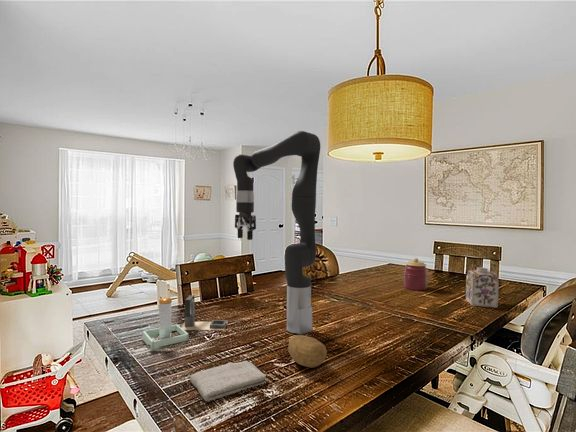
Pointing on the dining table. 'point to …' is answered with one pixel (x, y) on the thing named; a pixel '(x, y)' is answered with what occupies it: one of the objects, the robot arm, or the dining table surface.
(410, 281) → the canister
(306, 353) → the potato
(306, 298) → the robot arm
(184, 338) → the tray
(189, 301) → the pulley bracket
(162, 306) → the pin
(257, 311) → the dining table surface
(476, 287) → the decorative jar
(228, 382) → the washcloth
